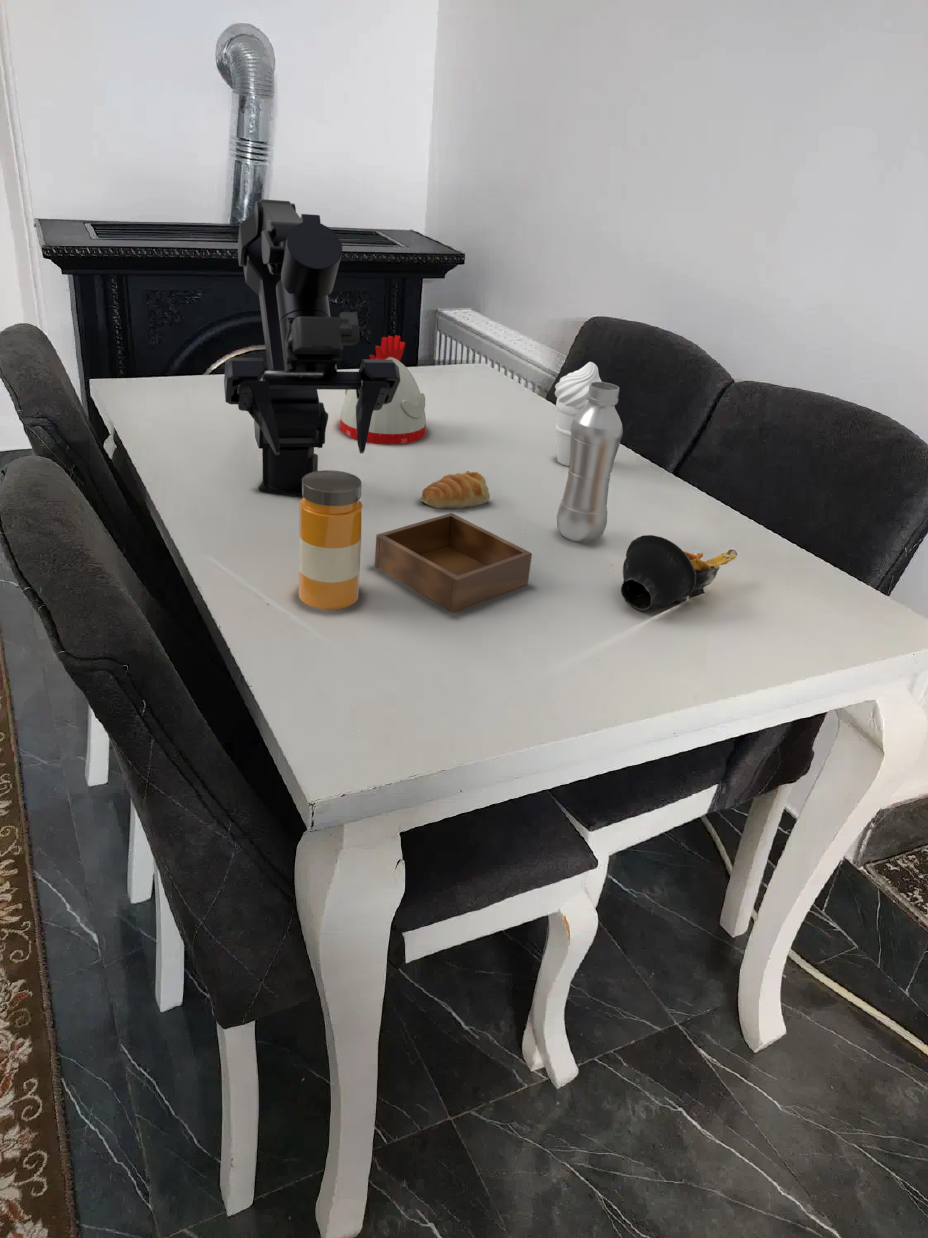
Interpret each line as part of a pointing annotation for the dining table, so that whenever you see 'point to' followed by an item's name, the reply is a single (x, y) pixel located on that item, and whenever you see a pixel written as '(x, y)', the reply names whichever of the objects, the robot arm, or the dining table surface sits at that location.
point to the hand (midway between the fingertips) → (320, 452)
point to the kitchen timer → (390, 405)
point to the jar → (330, 539)
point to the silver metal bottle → (590, 465)
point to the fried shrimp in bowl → (666, 572)
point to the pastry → (457, 491)
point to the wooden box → (452, 561)
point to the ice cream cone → (571, 405)
